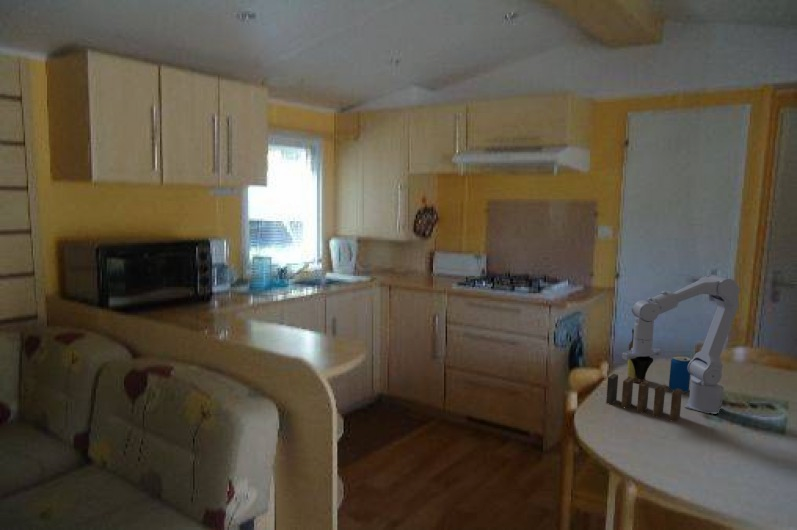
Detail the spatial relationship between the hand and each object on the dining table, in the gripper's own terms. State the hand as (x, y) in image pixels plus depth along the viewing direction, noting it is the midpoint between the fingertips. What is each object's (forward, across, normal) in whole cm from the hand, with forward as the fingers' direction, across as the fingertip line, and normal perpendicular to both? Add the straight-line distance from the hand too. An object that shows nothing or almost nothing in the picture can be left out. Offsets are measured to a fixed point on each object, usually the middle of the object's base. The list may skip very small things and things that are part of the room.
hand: (640, 378), depth 183 cm
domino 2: (+10, +2, -3) cm, 11 cm away
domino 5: (+10, -5, +10) cm, 15 cm away
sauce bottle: (+11, -20, -21) cm, 30 cm away
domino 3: (+10, 0, +1) cm, 10 cm away
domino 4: (+10, -3, +6) cm, 12 cm away
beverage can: (+11, -26, -8) cm, 29 cm away
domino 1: (+10, +4, -8) cm, 13 cm away
